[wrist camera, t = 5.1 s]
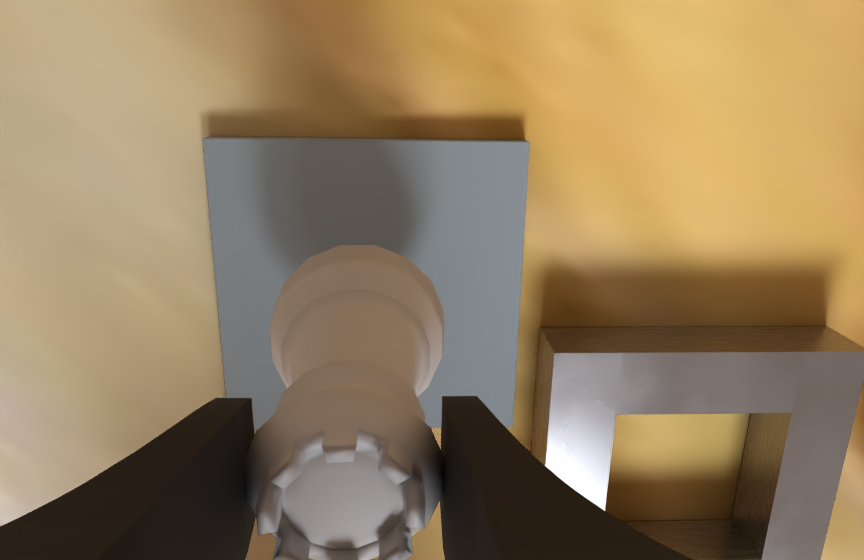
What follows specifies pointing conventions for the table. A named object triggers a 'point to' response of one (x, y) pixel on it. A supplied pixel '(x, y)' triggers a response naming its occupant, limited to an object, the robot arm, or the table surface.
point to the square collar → (709, 394)
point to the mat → (372, 225)
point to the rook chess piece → (350, 410)
